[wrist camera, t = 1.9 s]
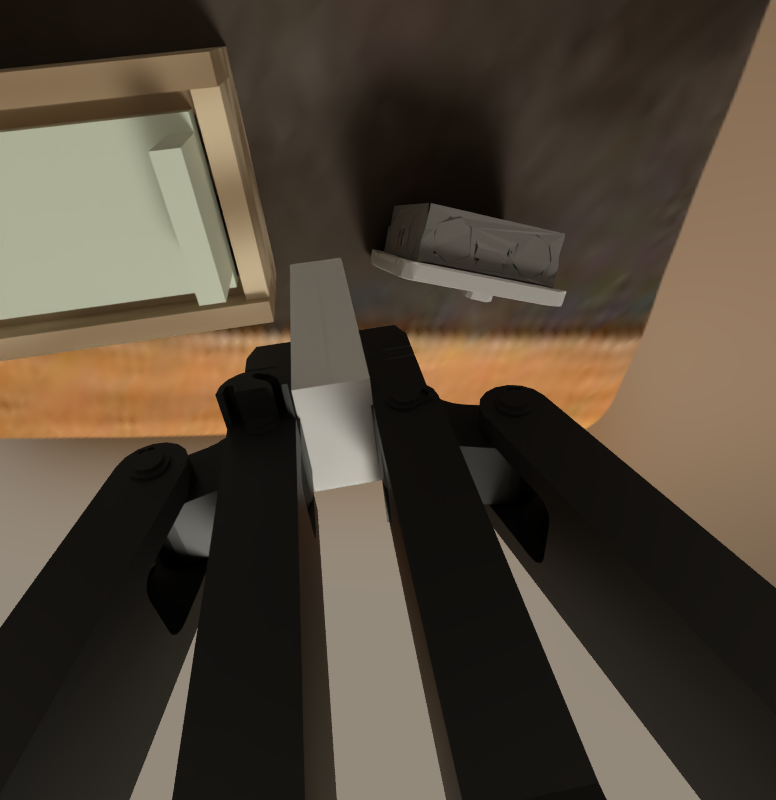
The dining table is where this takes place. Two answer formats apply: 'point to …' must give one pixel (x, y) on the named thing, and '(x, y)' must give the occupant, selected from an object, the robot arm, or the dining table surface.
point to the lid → (108, 215)
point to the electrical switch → (472, 254)
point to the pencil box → (229, 170)
